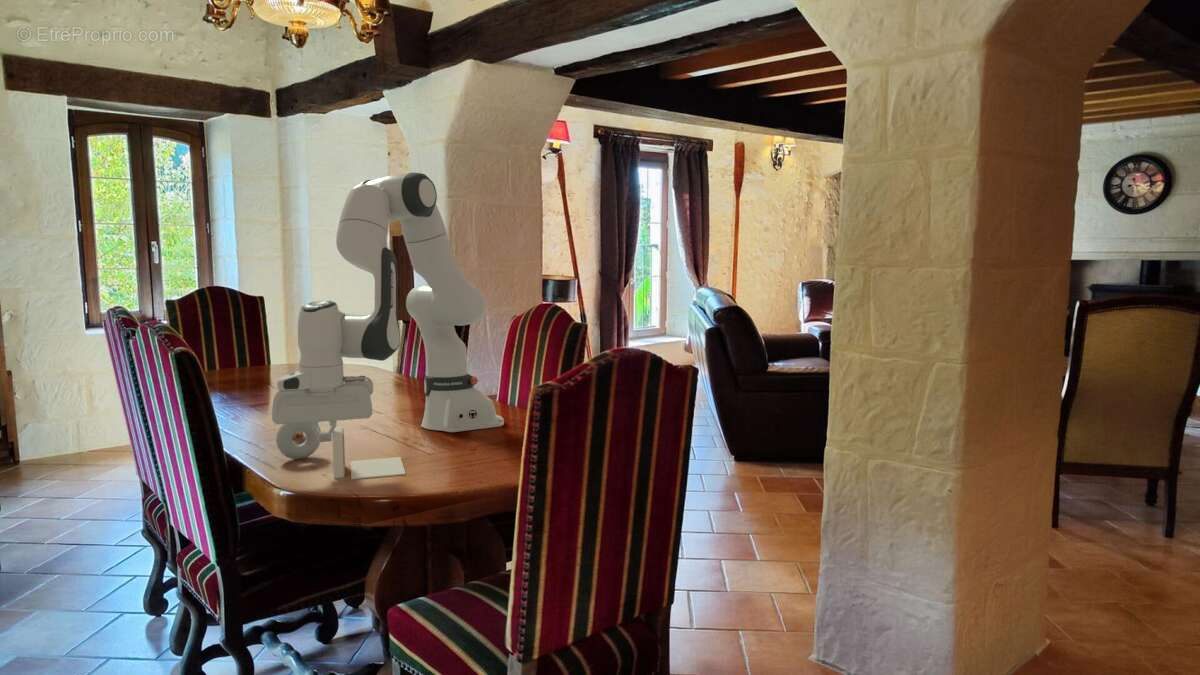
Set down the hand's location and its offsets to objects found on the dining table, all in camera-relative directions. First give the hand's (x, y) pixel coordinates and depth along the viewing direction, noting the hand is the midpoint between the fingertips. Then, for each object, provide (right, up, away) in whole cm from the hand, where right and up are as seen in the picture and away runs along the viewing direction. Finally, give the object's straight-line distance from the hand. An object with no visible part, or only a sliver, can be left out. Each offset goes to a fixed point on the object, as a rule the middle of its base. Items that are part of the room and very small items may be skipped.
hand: (324, 441), depth 162 cm
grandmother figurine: (-20, -4, +34) cm, 39 cm away
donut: (-10, -6, +12) cm, 17 cm away
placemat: (+10, -7, +4) cm, 13 cm away
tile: (+3, -7, +2) cm, 7 cm away
